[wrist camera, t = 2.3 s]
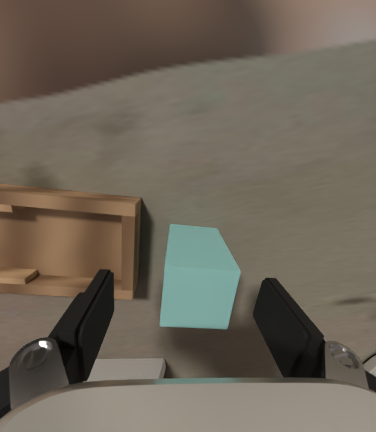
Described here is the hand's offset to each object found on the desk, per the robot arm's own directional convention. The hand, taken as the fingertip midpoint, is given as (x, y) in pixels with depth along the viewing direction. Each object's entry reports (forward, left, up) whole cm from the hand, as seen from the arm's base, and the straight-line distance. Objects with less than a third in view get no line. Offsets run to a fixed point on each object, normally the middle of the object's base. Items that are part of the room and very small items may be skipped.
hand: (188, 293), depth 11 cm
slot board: (+14, 0, -7) cm, 15 cm away
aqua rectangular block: (-1, 0, -7) cm, 7 cm away
